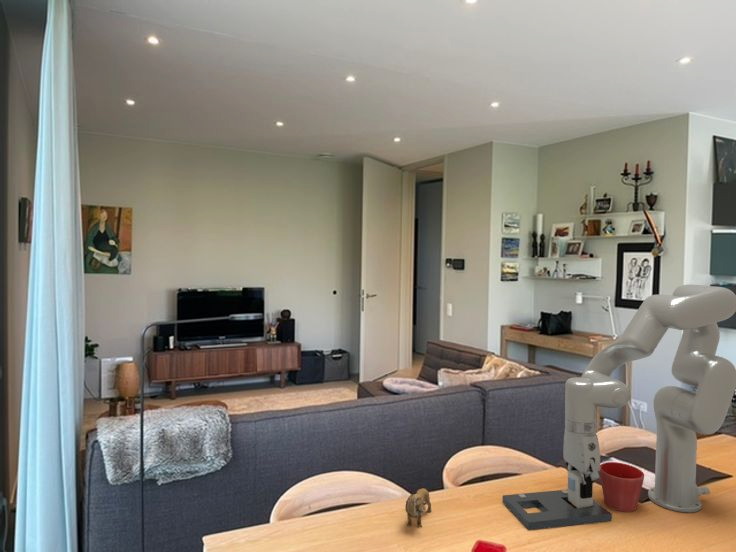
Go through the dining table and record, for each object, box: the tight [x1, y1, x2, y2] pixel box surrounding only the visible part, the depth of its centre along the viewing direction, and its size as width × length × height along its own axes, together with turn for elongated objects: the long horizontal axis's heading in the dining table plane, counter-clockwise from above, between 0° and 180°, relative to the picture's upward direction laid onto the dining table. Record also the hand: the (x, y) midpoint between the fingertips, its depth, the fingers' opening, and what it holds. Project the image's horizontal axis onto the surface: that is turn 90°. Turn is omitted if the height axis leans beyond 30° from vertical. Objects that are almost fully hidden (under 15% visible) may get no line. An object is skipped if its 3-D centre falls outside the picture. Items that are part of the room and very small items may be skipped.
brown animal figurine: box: [405, 488, 432, 528], centre depth 128 cm, size 15×5×9 cm, turn 165°
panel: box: [502, 488, 613, 531], centre depth 133 cm, size 23×14×2 cm, turn 101°
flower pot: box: [599, 461, 645, 513], centre depth 136 cm, size 11×11×10 cm
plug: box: [567, 470, 594, 508], centre depth 134 cm, size 5×4×8 cm
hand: (580, 492), depth 134 cm, fingers closed on plug, 4 cm apart
